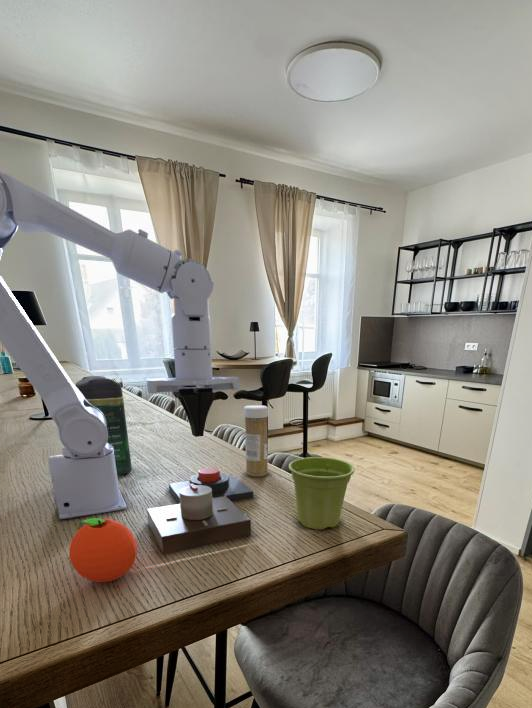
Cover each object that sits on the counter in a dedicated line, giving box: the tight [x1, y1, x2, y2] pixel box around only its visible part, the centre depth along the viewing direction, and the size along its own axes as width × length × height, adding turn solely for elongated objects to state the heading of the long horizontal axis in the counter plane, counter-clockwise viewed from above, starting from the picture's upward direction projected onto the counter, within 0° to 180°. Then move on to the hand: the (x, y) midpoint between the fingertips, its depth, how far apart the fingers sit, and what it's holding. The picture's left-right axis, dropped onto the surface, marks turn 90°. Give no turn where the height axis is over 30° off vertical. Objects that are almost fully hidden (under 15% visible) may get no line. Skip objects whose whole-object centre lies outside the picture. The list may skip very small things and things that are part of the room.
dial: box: [179, 483, 213, 520], centre depth 57 cm, size 4×4×4 cm
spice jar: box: [243, 404, 269, 478], centre depth 80 cm, size 5×5×13 cm
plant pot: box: [288, 456, 356, 530], centre depth 60 cm, size 9×9×9 cm
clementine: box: [68, 517, 138, 583], centre depth 46 cm, size 8×7×7 cm
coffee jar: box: [75, 375, 133, 477], centre depth 80 cm, size 10×8×19 cm
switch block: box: [168, 472, 254, 504], centre depth 71 cm, size 12×10×3 cm
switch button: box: [197, 467, 221, 482], centre depth 70 cm, size 4×4×2 cm
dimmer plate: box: [146, 496, 252, 555], centre depth 58 cm, size 12×10×3 cm
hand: (197, 435), depth 69 cm, fingers closed
